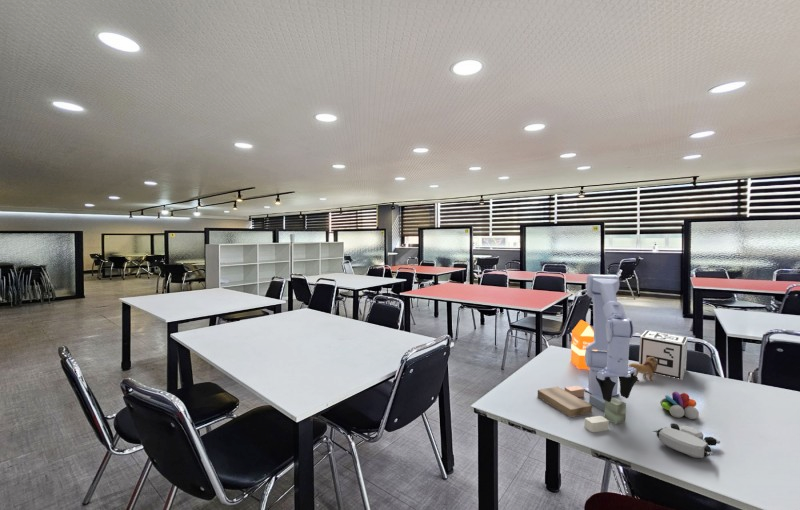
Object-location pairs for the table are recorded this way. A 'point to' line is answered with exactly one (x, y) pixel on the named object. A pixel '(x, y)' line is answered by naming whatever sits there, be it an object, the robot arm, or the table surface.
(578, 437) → the table surface
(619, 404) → the sage block
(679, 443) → the robot toy
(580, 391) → the terracotta brick
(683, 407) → the colorful egg cluster
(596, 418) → the cream brick
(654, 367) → the lion figurine
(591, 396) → the slate brick
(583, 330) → the orange juice
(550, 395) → the walnut slab
